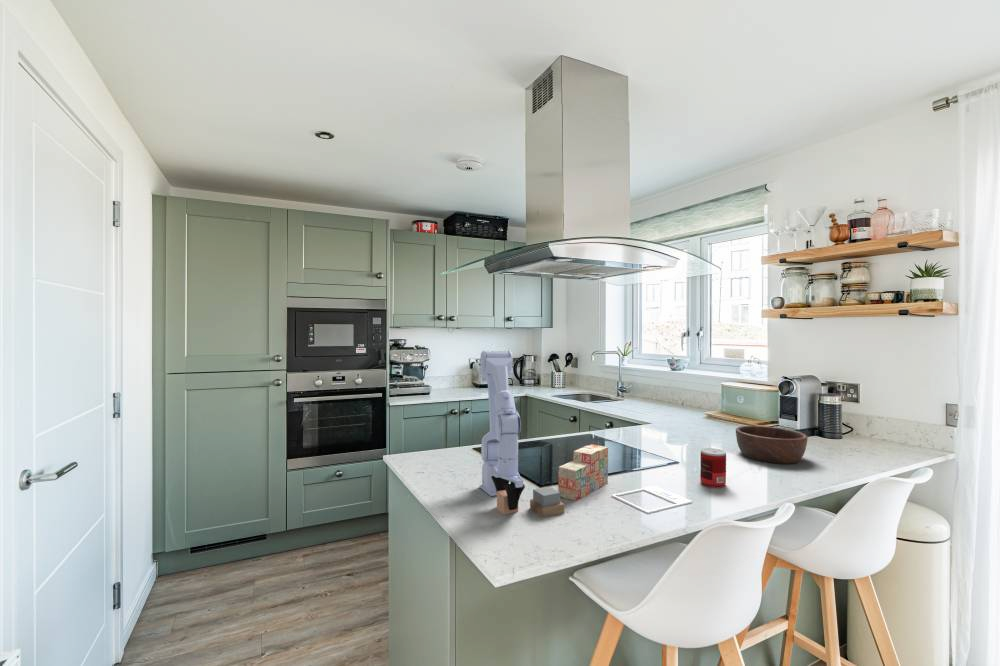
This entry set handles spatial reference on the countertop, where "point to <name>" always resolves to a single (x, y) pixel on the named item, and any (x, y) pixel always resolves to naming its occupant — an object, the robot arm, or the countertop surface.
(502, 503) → the terracotta block
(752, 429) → the wooden bowl
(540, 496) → the gray top block
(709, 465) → the canned food
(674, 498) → the photo frame
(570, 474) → the stack of blocks
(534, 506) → the walnut base block
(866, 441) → the countertop surface
